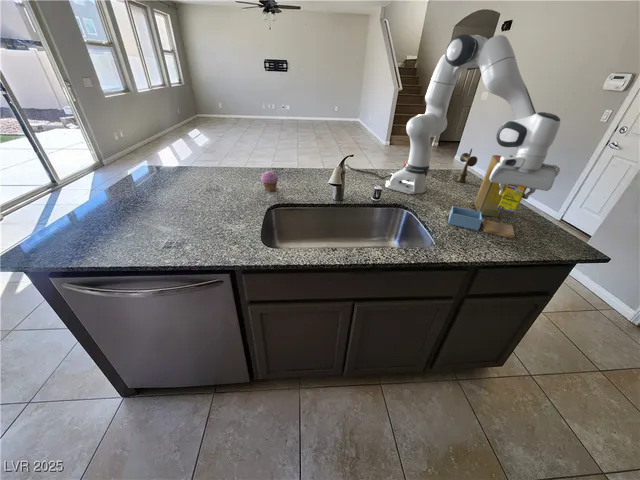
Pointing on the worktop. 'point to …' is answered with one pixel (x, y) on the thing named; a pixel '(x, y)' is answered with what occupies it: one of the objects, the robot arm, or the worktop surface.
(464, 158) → the kendama
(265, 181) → the cupcake
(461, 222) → the basket
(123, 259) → the worktop surface
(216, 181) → the worktop surface
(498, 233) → the oak board
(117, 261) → the worktop surface
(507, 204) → the supplement box
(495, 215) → the food packaging
